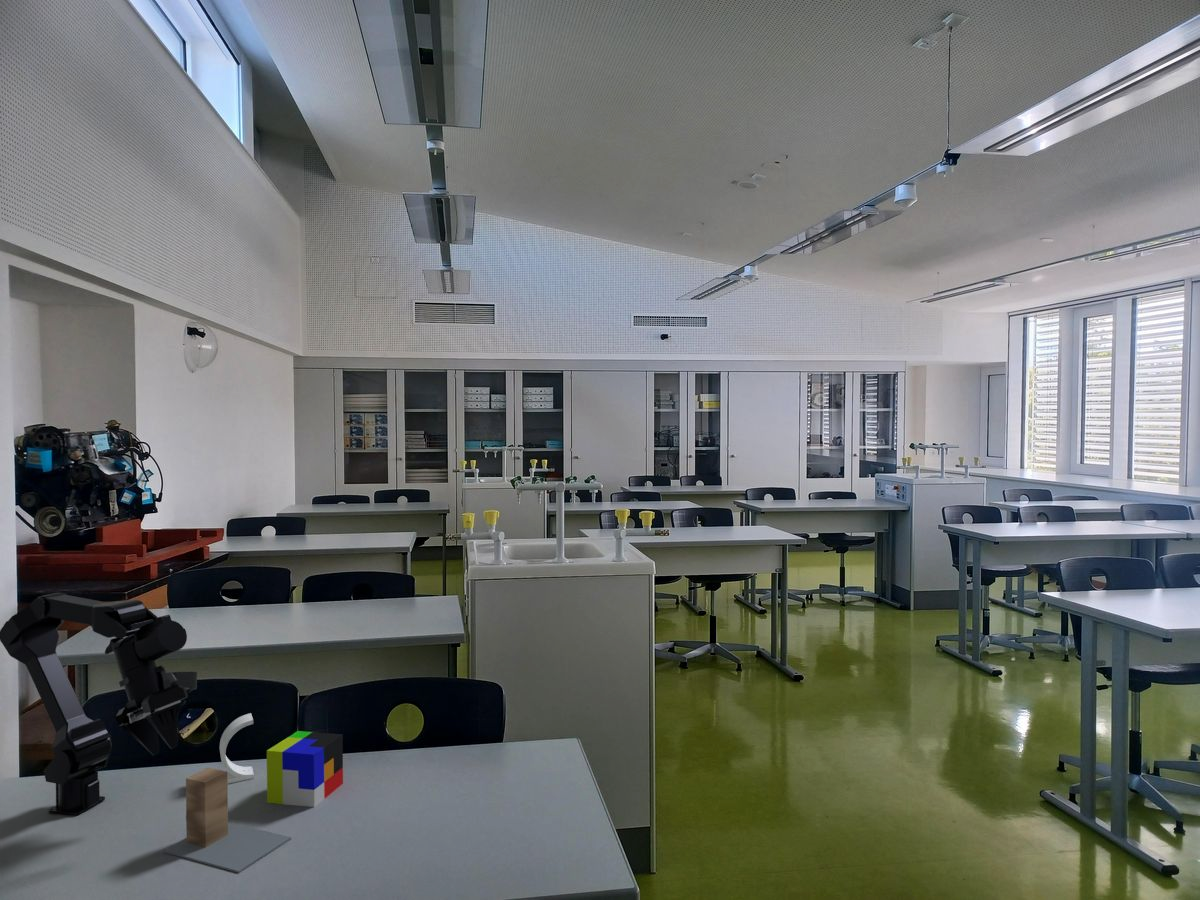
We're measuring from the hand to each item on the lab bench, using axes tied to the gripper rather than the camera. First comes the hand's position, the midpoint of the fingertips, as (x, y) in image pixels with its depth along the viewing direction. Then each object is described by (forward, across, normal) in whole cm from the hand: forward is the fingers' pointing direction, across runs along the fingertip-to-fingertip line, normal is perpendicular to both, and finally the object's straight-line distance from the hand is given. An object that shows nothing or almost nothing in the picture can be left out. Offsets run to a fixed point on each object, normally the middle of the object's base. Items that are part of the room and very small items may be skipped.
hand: (165, 750), depth 134 cm
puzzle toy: (+19, -2, -20) cm, 27 cm away
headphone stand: (+11, +14, -15) cm, 24 cm away
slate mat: (+19, -10, -1) cm, 21 cm away
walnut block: (+16, -6, 0) cm, 18 cm away
